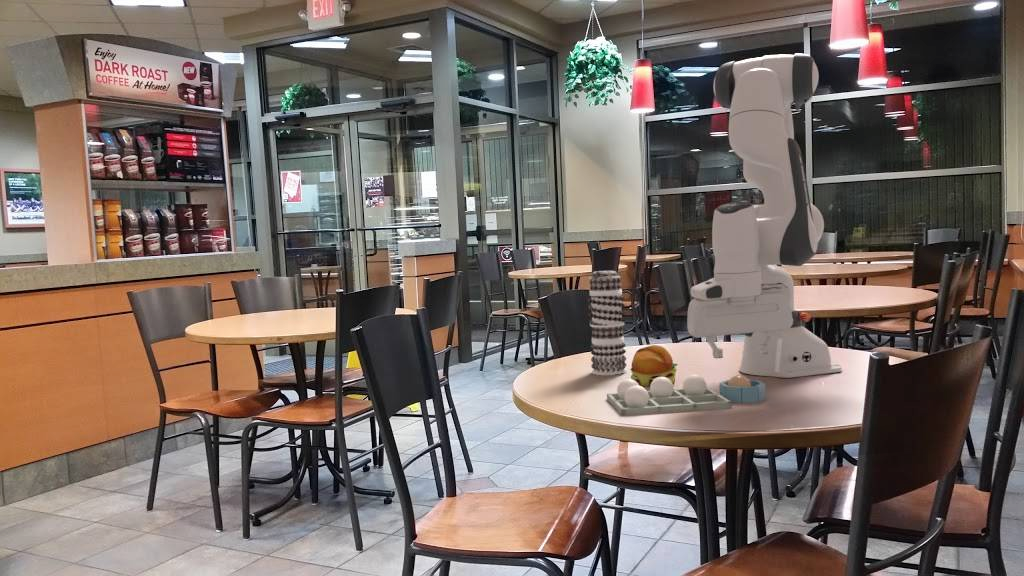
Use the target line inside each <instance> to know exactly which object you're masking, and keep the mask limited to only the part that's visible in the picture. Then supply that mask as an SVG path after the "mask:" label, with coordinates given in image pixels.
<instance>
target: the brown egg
mask: <svg viewBox="0 0 1024 576" xmlns="http://www.w3.org/2000/svg"><path fill="white" fill-rule="evenodd" d="M748 379H749V378H748V377H746V376H744V375H741V374H739V375H737V374H736V375H733V376H732V377H730V379H728V380H729V381H728V384H727V385H728V386H737V387H748V386H751V383H750V381H749V380H750V379H749V380H748Z"/></svg>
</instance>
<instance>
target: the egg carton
mask: <svg viewBox="0 0 1024 576" xmlns="http://www.w3.org/2000/svg"><path fill="white" fill-rule="evenodd" d="M674 388H675V387H674V385H673V384H672V382H671V381H670V380H669V379H668V378H666V377H657V378H655V379H654V380H653V381H652V382H651V385H650V387H649V390H647V389H646V387H642V386H639V384H638V383H637V382H636V381H634V380H632V379H631V378H625V379H623V380H621V381H620V382H619V383H618V385H617V387H616V392H614V393H607V394H606V400H607V401H608V402H609V403H610V404H611V405H612V406H613V408H614V409H615V410H616V411H617V412H618V413H619V414H620V415H621V416H633V415H634V416H635V415H637V416H638V415H650V414H664V413H676V412H677V413H678V412H690V411H691V412H692V411H706V410H708V411H709V410H719V409H720V410H721V409H732V408H733V404H732V403H733V402H731V401H730V400H728V399H726V398H724V397H723V396H721V395H720V393H718V392H716V391H714V390H712V389H711V388H709V387H708V386H707V382H706V380H705V379H704V377H702V376H701V375H700V374H696V373H695V374H690V375H688V376H686V377H685V379H683V383H682V388H675V389H674Z"/></svg>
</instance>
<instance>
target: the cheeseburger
mask: <svg viewBox="0 0 1024 576" xmlns="http://www.w3.org/2000/svg"><path fill="white" fill-rule="evenodd" d="M673 361H674V360H673V358H672V356H671V354H670V352H669V351H668V350H667V349H666V347H664V346H662V345H657V344H655V345H654V344H653V345H649V346H643V347H642V348H641V347H640V348H639V349H638V350H636V351H635V353H634V355H633V359H632V361H631V368H630V369H629V370H630V371H631V375H630V379H632V380H634V381H636V382H637V383H638V384H639V386H642V387H643V388H647V387H648V388H650V385H651V382H652V381H653V380H654V379H655V378H657V377H666V378H668V379H669V380H670V381H671V382H672V384H673V386H674V385H675V383H676V373H677V368H676V367H677V366H678V363H673Z"/></svg>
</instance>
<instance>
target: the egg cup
mask: <svg viewBox="0 0 1024 576" xmlns="http://www.w3.org/2000/svg"><path fill="white" fill-rule="evenodd" d="M729 380H730V379H727V380H726V379H725V380H724V381H721V382H719V395H721V396H723V397H724V398H726V399H728V400H730V401H731V402H732V403H737V404H738V403H740V404H747V403H758V402H761V401H763V400H766V382H763V381H761V380H760V379H759V380H758V379H749V378H748V380H749V381H750V383H751V386H748V387H737V386H728V385H727V384H728V381H729Z"/></svg>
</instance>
